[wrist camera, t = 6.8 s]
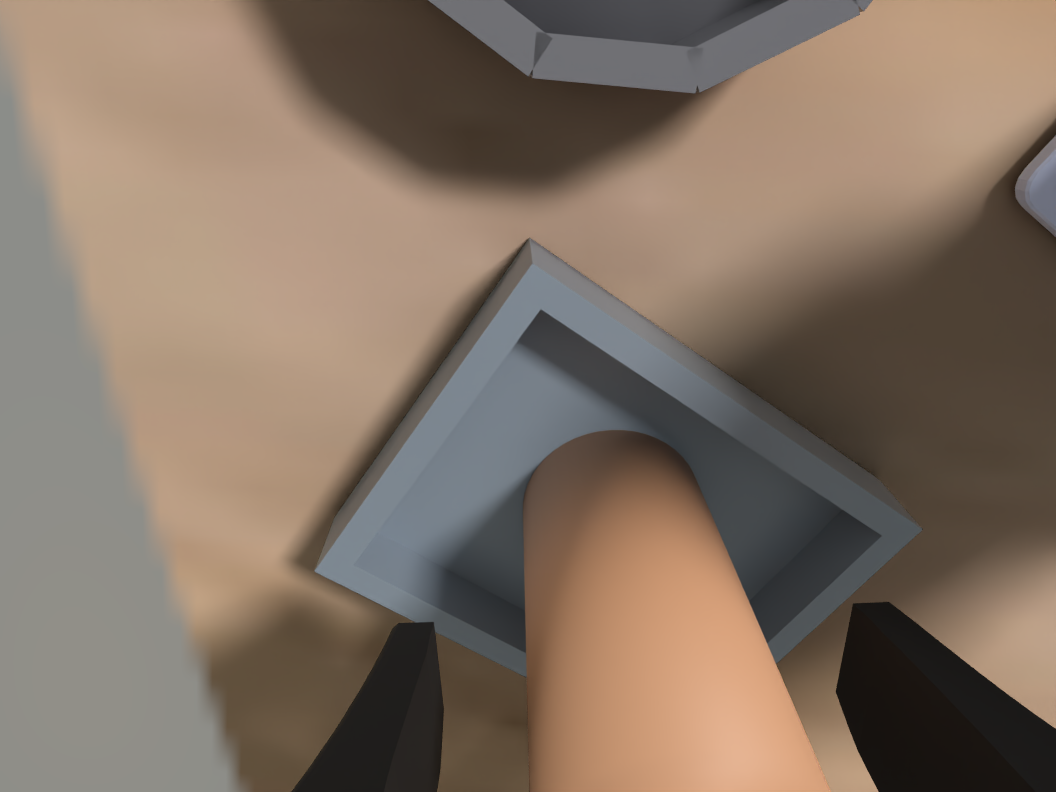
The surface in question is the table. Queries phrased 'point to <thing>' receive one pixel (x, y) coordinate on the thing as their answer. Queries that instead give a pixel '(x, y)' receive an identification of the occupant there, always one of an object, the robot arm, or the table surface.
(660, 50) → the grey round bowl
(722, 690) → the dowel
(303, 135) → the table surface
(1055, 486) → the table surface
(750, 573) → the tray
